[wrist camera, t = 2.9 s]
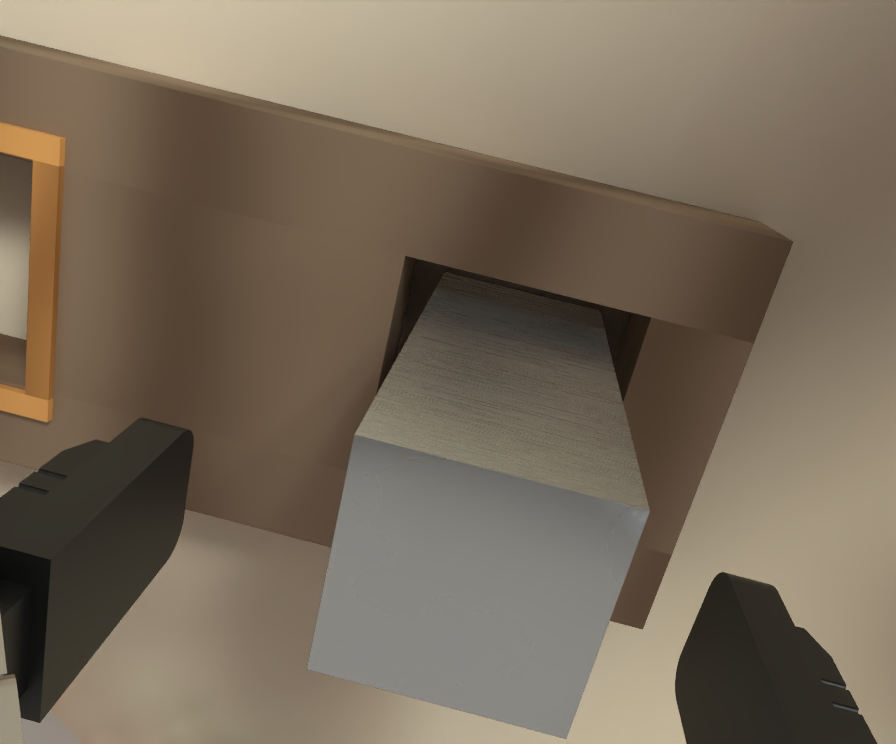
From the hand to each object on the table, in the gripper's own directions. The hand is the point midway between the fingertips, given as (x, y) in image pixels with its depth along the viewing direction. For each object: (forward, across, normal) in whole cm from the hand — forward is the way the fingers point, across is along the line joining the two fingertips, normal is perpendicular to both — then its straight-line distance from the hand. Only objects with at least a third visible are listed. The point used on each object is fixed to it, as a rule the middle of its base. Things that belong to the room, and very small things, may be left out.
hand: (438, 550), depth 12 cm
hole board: (+9, +6, 0) cm, 11 cm away
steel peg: (+9, -1, 0) cm, 9 cm away
